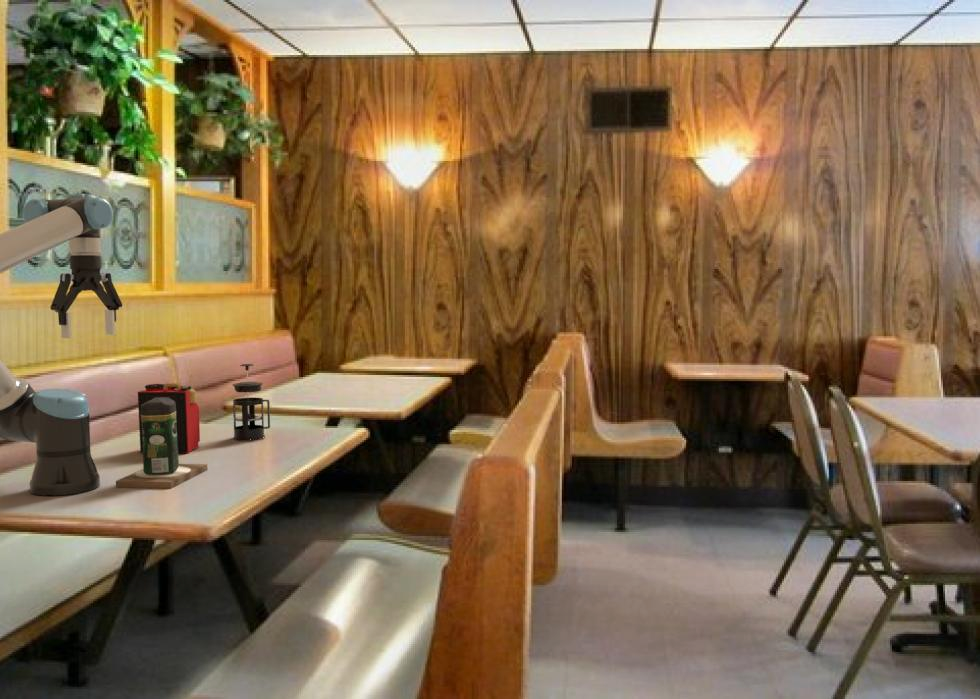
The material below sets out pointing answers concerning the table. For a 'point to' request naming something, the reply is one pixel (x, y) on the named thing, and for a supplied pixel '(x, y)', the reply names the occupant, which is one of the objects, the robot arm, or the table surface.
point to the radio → (184, 412)
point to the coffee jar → (159, 436)
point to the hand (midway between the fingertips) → (89, 336)
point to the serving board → (162, 477)
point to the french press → (249, 411)
